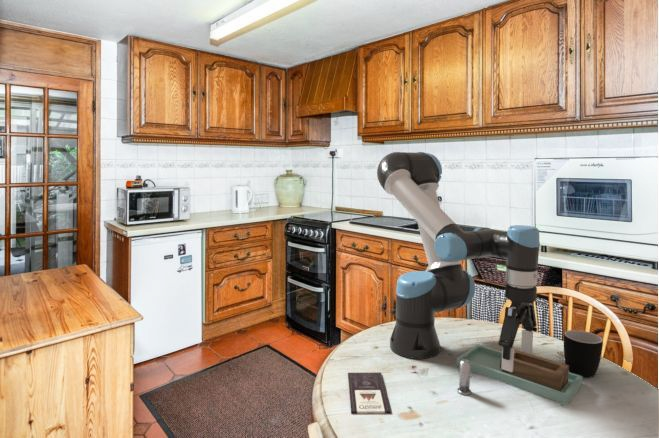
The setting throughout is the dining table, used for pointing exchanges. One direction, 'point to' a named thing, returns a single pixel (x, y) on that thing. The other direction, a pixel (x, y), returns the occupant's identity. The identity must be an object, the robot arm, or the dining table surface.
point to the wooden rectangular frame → (539, 370)
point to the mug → (582, 352)
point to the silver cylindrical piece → (464, 377)
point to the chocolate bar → (367, 393)
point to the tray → (489, 365)
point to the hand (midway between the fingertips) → (517, 361)
